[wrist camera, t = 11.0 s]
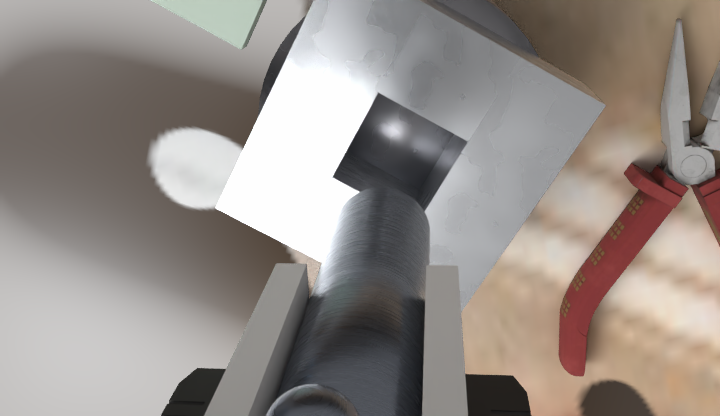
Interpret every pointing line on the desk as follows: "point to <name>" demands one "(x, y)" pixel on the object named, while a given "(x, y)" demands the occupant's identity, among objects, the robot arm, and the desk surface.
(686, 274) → the desk surface
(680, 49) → the pliers
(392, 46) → the chuck block
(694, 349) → the desk surface
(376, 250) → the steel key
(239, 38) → the sage mat
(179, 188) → the desk surface
